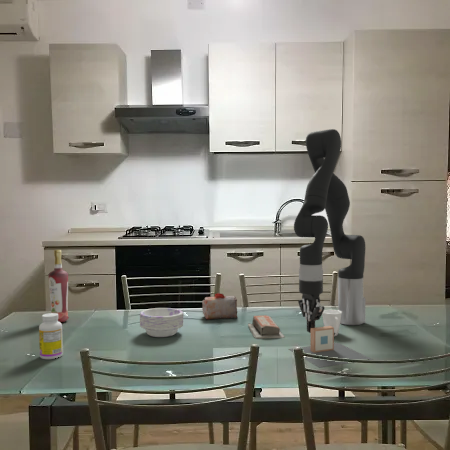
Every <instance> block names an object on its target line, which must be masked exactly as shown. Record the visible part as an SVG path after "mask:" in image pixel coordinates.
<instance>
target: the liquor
mask: <svg viewBox="0 0 450 450" xmlns="http://www.w3.org/2000/svg"><path fill="white" fill-rule="evenodd" d="M53 253H54V254H53V255H54V265H53V266H54V267H53V268H54V270H52V271H50V272H49V273H48V286H49V287H48V288H49V297H50V298H49V299H50V313H57V314H58V317H59V318H58V322H60V323H61V322H64V323H65V321H66V322H67V321H68V320H69V318H70V317H69V315H68V313H69V312H68V311H69V310H68V297H69V273H68V271H66V270H64V269H63V265H62V249H54V250H53ZM61 324H62V323H61Z"/></svg>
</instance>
